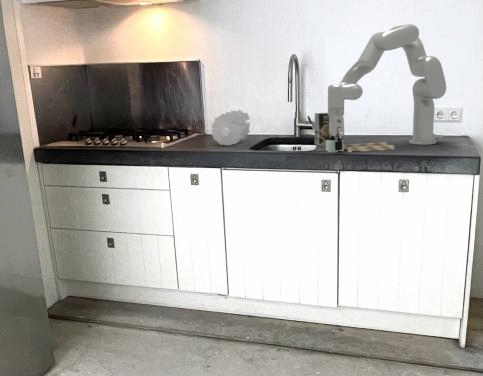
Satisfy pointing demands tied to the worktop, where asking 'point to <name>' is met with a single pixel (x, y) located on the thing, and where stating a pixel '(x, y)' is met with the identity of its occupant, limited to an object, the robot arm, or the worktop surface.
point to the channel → (368, 147)
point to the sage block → (332, 146)
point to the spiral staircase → (230, 127)
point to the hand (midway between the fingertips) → (335, 148)
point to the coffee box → (321, 128)
